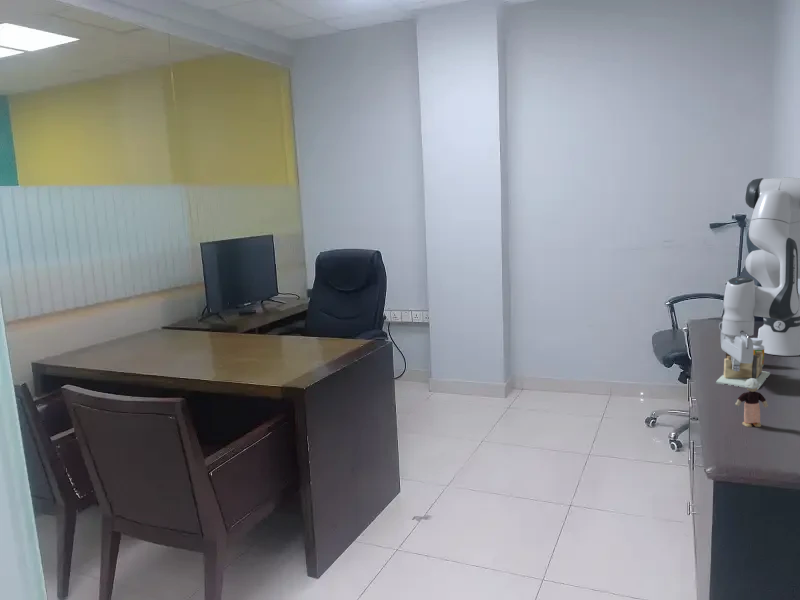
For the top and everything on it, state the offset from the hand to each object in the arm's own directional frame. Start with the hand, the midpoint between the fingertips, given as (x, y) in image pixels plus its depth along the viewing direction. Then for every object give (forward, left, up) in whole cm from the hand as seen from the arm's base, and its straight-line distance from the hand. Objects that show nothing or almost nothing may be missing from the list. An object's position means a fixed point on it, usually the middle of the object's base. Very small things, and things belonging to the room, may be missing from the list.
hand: (735, 370), depth 196 cm
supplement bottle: (-23, +1, -4) cm, 24 cm away
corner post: (-7, -4, -4) cm, 9 cm away
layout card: (-5, +1, -4) cm, 7 cm away
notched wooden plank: (-3, 0, -3) cm, 4 cm away
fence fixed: (-9, +4, -3) cm, 11 cm away
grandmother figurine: (+39, +11, -4) cm, 41 cm away
